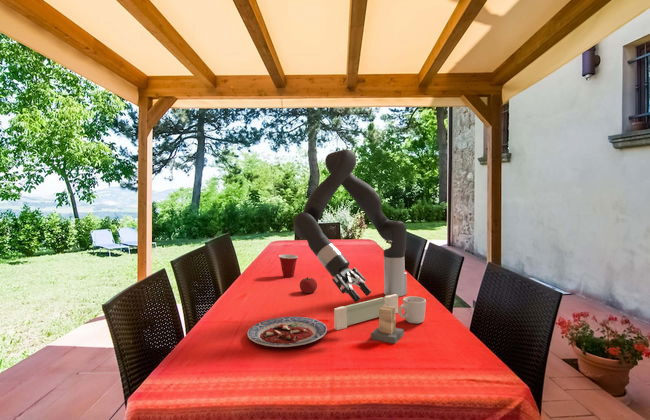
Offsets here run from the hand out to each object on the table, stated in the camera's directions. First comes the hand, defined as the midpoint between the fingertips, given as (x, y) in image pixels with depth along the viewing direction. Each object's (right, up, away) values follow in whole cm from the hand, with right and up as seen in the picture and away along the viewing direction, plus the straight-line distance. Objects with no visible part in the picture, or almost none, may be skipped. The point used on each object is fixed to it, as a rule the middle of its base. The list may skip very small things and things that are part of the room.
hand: (364, 297), depth 122 cm
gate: (+2, -11, +11) cm, 16 cm away
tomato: (-21, -10, +52) cm, 57 cm away
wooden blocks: (+3, -11, +12) cm, 17 cm away
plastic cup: (-33, -9, +86) cm, 92 cm away
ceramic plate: (-25, -13, -1) cm, 28 cm away
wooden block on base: (+7, -12, -3) cm, 14 cm away
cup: (+18, -11, +10) cm, 23 cm away
